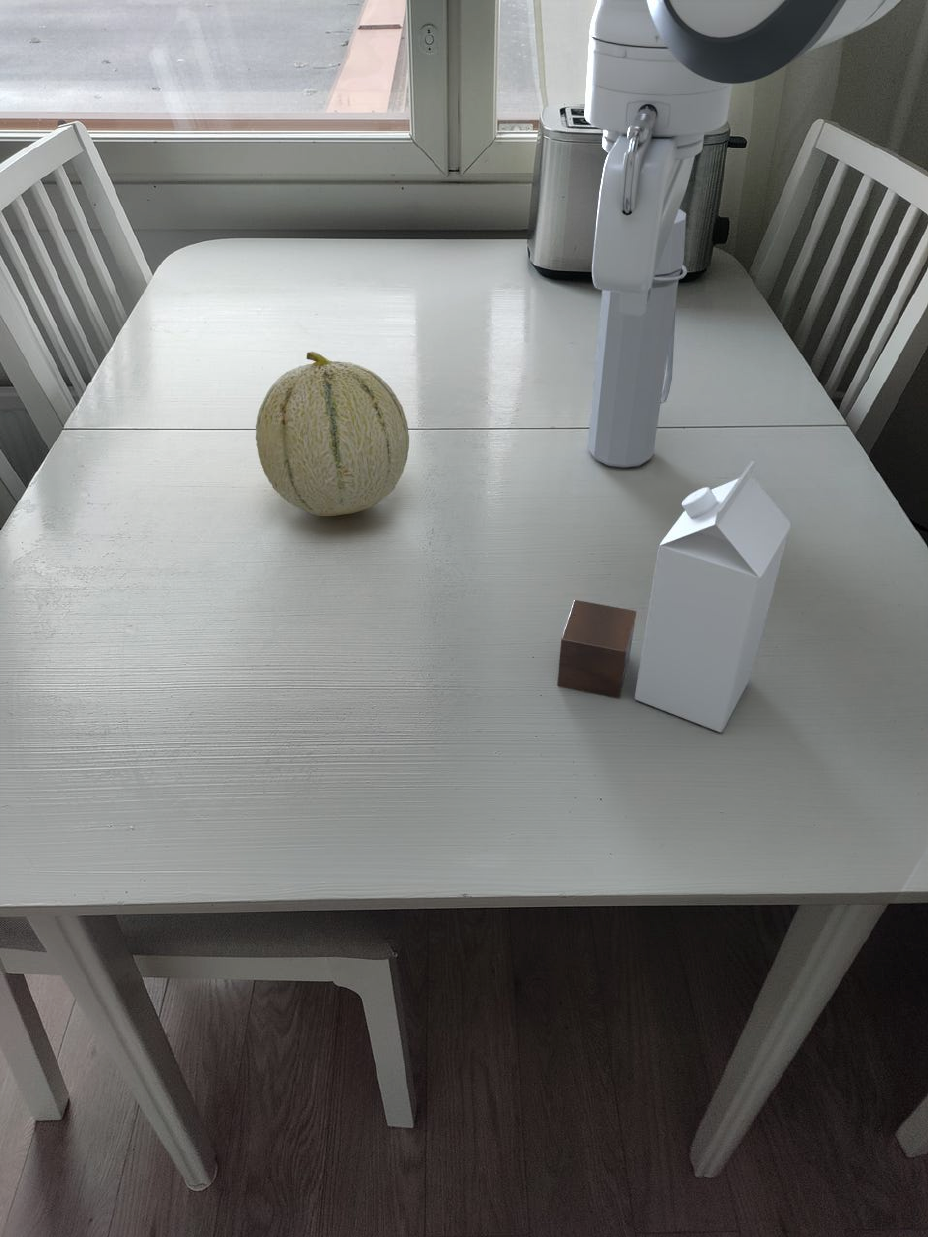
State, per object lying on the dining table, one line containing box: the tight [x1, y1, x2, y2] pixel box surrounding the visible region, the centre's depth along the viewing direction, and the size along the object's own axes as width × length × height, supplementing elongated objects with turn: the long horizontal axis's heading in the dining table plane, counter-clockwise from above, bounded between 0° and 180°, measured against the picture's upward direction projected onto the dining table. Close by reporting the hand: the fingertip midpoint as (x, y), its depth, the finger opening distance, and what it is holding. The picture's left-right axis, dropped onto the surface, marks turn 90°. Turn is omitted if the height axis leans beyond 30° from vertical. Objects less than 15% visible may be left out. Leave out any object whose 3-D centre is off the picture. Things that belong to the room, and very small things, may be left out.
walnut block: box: [556, 599, 637, 699], centre depth 76 cm, size 5×5×5 cm
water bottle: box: [587, 208, 688, 469], centre depth 95 cm, size 9×8×25 cm
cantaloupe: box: [255, 351, 410, 517], centre depth 91 cm, size 15×15×15 cm
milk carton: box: [634, 460, 792, 733], centre depth 69 cm, size 7×7×19 cm
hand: (634, 307), depth 68 cm, fingers closed
